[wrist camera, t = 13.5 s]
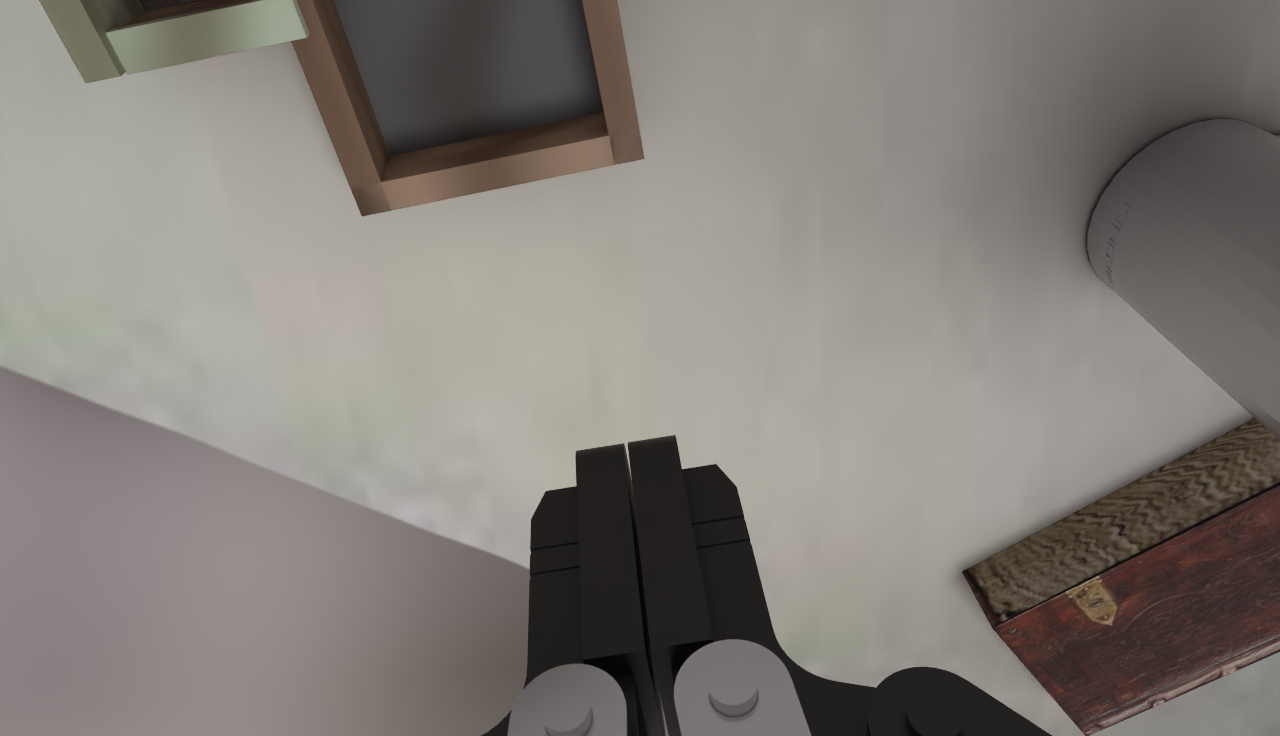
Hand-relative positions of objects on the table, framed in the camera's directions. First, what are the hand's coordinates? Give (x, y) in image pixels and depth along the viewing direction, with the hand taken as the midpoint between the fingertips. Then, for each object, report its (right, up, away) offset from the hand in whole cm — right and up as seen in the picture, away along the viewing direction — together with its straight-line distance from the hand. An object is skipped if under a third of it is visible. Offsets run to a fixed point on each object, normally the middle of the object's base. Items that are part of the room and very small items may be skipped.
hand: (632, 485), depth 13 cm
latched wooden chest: (+38, -9, +44) cm, 59 cm away
